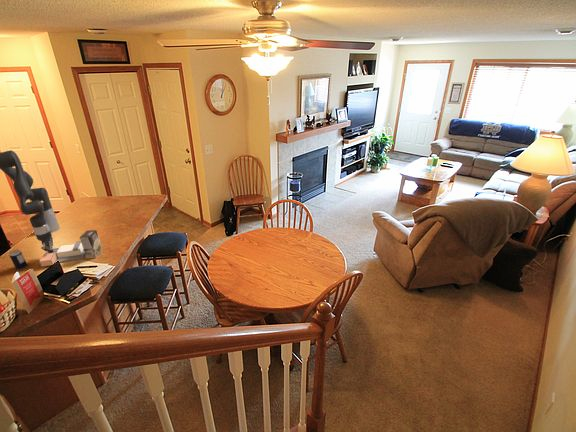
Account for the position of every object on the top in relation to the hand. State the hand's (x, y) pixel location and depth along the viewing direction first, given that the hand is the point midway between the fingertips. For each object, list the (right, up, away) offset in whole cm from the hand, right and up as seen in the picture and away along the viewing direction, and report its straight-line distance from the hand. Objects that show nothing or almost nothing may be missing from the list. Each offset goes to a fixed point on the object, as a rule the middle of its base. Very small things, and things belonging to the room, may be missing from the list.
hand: (51, 254), depth 194 cm
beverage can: (-12, -8, -8) cm, 16 cm away
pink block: (+2, -4, -4) cm, 6 cm away
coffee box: (+24, -1, +7) cm, 25 cm away
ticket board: (+5, -1, +5) cm, 7 cm away
